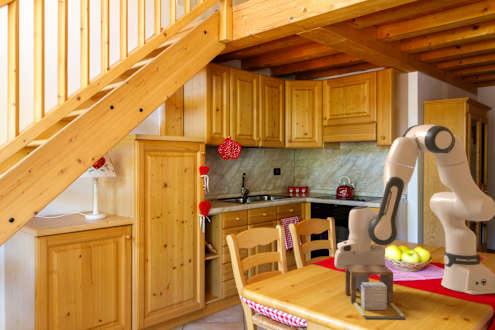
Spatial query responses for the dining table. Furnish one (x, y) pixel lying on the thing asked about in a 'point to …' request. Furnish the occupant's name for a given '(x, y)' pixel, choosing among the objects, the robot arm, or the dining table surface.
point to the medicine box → (373, 296)
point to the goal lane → (390, 304)
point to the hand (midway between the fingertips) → (359, 279)
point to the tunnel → (381, 270)
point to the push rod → (361, 280)
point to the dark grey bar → (384, 317)
